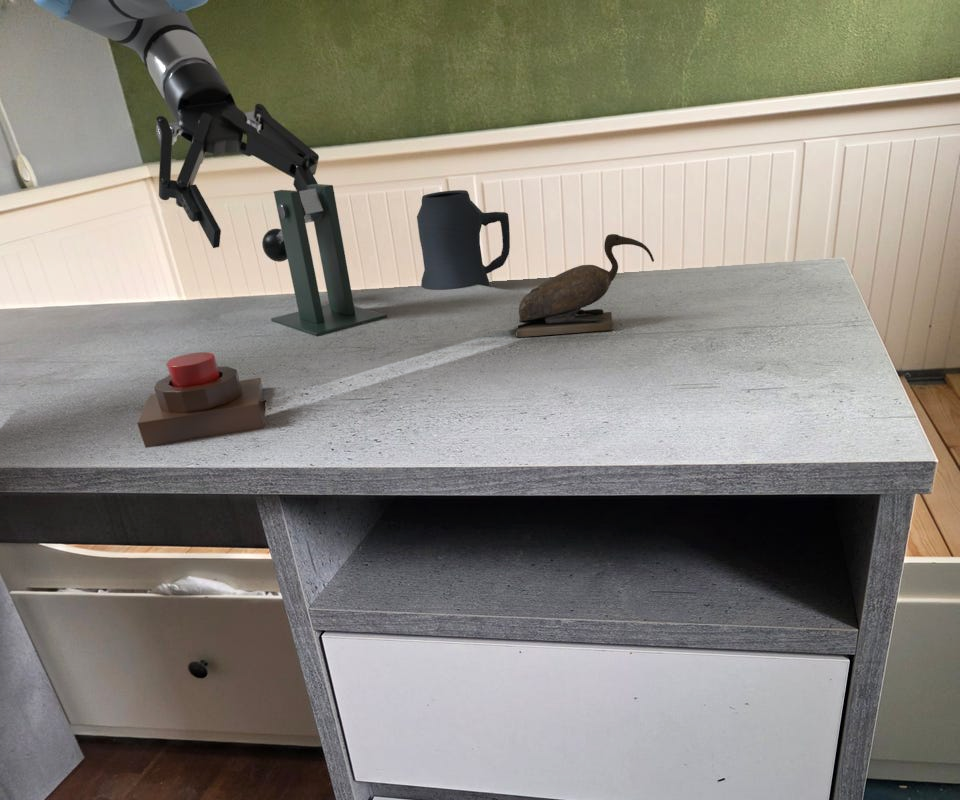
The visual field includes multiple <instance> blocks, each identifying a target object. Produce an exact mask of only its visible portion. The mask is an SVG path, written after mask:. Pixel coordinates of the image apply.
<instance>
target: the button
mask: <svg viewBox="0 0 960 800" xmlns="http://www.w3.org/2000/svg"><path fill="white" fill-rule="evenodd" d="M217 366H218V364H217V359H216V357H215V354H214V353H212V352H204V351H203V352H192V353H187V354H182V355H178V356H176V357H173V358H171V359H169V360H168V361H167V362H166V367H167V370H168V373H169V374H168V375H170V377H171V380H172V384H173V387H191V386H197V385H203V384H206V383H209V382H213V381H215V380H217V379H219V378H220V374H219V371H218V367H217Z"/></svg>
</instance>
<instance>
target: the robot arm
mask: <svg viewBox="0 0 960 800" xmlns="http://www.w3.org/2000/svg"><path fill="white" fill-rule="evenodd" d="M32 1H33V2H34V3H35V4H36V5H37V6H38V7H40V8H42V9H44V10H45V11H48V12H49V13H51V14H52V15H55V16H56V17H58V18H59V19H60V20H62V21H68V22H69V23H72V24H74V25H77V26H79V27H81V28H83V29H86V30H88V31H90V32H93V33H96V34H98V35H99V36H102V37H104V38H106V39H110V40H111V41H113V42H116V43H117V44H120V45H122V46H125V47H127V48H129V49H131V50H133V51H135V52H136V53H137V54H138V55H139V57H140V59H141V61H142V62H143V64H144V66H145V67H146V70H147V72H148V73H149V75H150V77H151V79H152V80H153V82H154V84H155V86H156V88H157V89H158V91H159V93H160V95H161V97H162V98H163V99H164V102H165V105H166V107H167V108H168V110H169V112H170V114H171V116H172V117H173V119H174V120H175V121H168V119H167V118H166V116H163V115H159V116H157V117H156V119H155V120H156V121H155V123H156V125H155V126H156V127H155V129H156V130H155V132H156V133H155V135H156V140H157V143H158V145H159V147H160V152H159V153H160V155H159V172H158V197H159V199H160V200H162V201H168V200H170V199H175V205H177V206H178V207H179V208H183V210H184V212H185V213H186V215H187V217H188V219H189V220H190V221H191V222H192V223H193V222H194V223H195V222H198V223H199V225H200V226H201V229H202V230H203V232H204V234H205V236H206V238H207V240H208V242H209V244H210V245H211V247H212V248H213V249H216V248H220V244H221V235H222V229H221V227H220V226H219V224H218V222H217V220H216V218H215V216H214V215H213V213H212V211H211V209H210V208H209V206H208V204H207V202H206V200H205V198H204V196H203V195H202V193H201V191H200V189H199V187H198V186H197V184H196V183H195V184H194V182H195V180H196V178H197V175H198V173H199V170H200V167H201V166H202V165H201V164H203V162H204V160H205V157H206V154H209V155H212V157H219V156H222V155H224V154H230V155H231V154H237V153H238V152H239V153H242V154H243V155H245V156H247V157H251V156H252V157H255V158H257V159H259V160H260V161H262V162H264V163H266V164H267V165H270V166H272V167H273V168H274V169H277V170H278V171H280V172H282V173H284V174H285V175H287V176H289V177H291V178H293V184H292V185H293V187H294V188H295V191H303V190H308V188H307V185H311V184H319V183H318V181H317V180H316V177H315V175H316V172H317V169H318V163H319V159H320V156H319V154H318V153H317V152H316V151H314V150H313V149H312V148H311V147H309V146H308V145H307V144H306V143H305V142H303V141H302V140H301V139H299V138H298V137H297V136H296V135H294V133H292V132H291V131H289V130H288V129H287V128H286V127H285V126H283V124H282V123H280V122H279V121H277V120H276V119H275V118H274V117H272V115H271V114H270V112H269V111H268V110H267V108H266V107H265V105H264V104H262V103H256V104H255V105H254V110H252V111H247V112H244V111H243V110H241V109H240V108H239V106H237V104H236V102H235V99H234V96H233V94H232V92H231V90H230V89H229V87H228V85H227V83H226V82H225V80H224V78H223V76H222V75H221V73H220V71H219V69H218V67H217V65H216V63H215V62H214V59H213V58H212V57H211V55H210V52H209V51H208V49H207V48H206V45H204V43H203V41H202V39H201V37H200V36H199V34H198V33H197V31H196V29H195V28H194V25H193V24H192V21H191V20H190V18H189V15H188V14H187V12H188V11H189V10H192V9H196V8H199V7H202V6H204V5H205V4H207V3H208V1H209V0H32ZM179 136H180V137H181V138H182V139H184V140H185V141H186V142H188V143H190V146H189V148H188V151H187V154H186V156H185V159H184V161H183V164H182V166H181V169H180V171H179V174H178V176H177V179H176V180H174V179H172V159H173V157H172V156H173V146H174V145H175V143H176V142H177V140H178V137H179ZM245 136H246V142H245V141H244V139H245Z"/></svg>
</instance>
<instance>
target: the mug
mask: <svg viewBox="0 0 960 800" xmlns="http://www.w3.org/2000/svg"><path fill="white" fill-rule="evenodd" d="M416 221H417V222H416V223H417V229H418V236H419V243H420V246H421V253H422V261H423V268H424V271H423V274H422V277H421V284H420V286H421V288H422V289H425V290H431V291H448V290H449V291H450V290H457V289H465V288H469V287H474V286H482V287H483V286H485V287H489V288H491V287H492V286H491V283H490V280H489V276H488V274H489V273H492V272H493V271H496V270H498V269H500V268H501V267H503V266H504V265H505V263H506V261H507V259H508V257H509V255H510V250H511V234H510V218H509V214H508V212H505V211H490V212H489V211H488V212H483V211H482V210H481V209H480V208H479V207H478V205H476V204H475V203H474V202H473V201H472V200H471V197H470V193H469V191H468V190H465V189H456V190H455V189H454V190H444V191H443V190H442V191H437V192H431V193H427V194H423V195H422V196H421V205H420V208H419V211H418V213H417V215H416ZM497 222H499V223H500V228H501V237H502V249H501V253H500V255H499V256H497V257H496V258H495V259H493V260H491V262H490V263H489V264H488V265H486V266H485V265H484V264H483V263H484V262H483V256H482V250H481V231H482V230H481V229H482V226H484V227H486V226H488V225H489V224H493V223H497Z"/></svg>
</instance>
